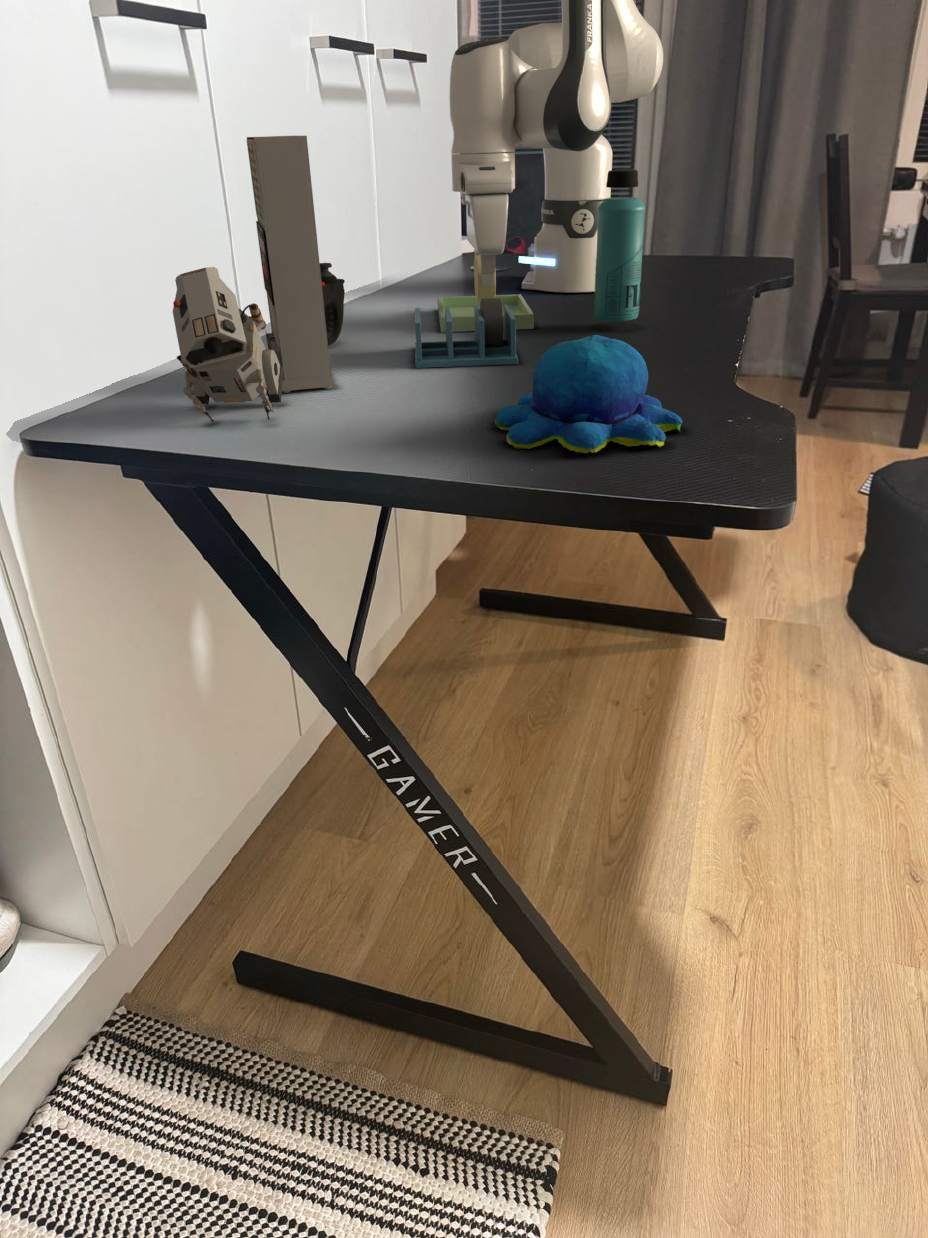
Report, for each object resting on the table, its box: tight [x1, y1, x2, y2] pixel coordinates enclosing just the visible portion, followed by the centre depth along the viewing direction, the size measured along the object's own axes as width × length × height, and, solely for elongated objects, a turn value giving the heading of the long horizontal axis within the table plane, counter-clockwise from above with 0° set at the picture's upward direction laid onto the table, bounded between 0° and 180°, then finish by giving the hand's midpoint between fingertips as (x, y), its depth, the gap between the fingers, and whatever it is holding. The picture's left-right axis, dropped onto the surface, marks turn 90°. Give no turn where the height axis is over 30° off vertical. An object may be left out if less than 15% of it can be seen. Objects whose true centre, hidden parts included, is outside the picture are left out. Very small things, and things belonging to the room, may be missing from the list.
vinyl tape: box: [480, 298, 504, 347], centre depth 110 cm, size 6×2×6 cm, turn 4°
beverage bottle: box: [592, 168, 646, 322], centre depth 120 cm, size 6×7×20 cm
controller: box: [320, 262, 346, 346], centre depth 117 cm, size 4×12×10 cm, turn 163°
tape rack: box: [414, 305, 519, 369], centre depth 110 cm, size 11×12×5 cm
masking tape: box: [473, 254, 497, 302], centre depth 129 cm, size 6×3×6 cm, turn 4°
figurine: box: [172, 266, 283, 422], centre depth 87 cm, size 9×12×15 cm
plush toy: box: [494, 334, 683, 454], centre depth 82 cm, size 17×17×8 cm
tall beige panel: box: [246, 135, 334, 394], centre depth 98 cm, size 14×6×25 cm, turn 15°
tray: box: [437, 293, 535, 333], centre depth 132 cm, size 17×13×2 cm
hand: (485, 281), depth 130 cm, fingers closed on masking tape, 6 cm apart
